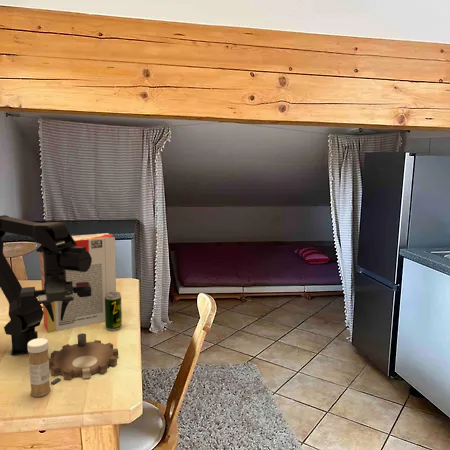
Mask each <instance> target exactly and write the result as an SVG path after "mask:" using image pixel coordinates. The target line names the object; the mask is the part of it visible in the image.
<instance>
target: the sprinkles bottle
mask: <svg viewBox="0 0 450 450" xmlns="http://www.w3.org/2000/svg"><path fill="white" fill-rule="evenodd" d="M27 346H28V353H27V354H28V361H29V362H28V364H29V367H28V370H29V382H30V395H31V396H32V397H36V398H38V397H39V398H40V397H44V396H46V395H48V394H49V393H50V392H51V387H50V385H51V381H50V375H51V374H50V369H49V359H50V358H49V351H48V350H49V340H48V339H46V338H45V337H44V338H42V337H40V338H39V337H38V338H37V339H33V340H31V341H29V342H28V344H27Z"/></svg>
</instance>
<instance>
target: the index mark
mask: <svg viewBox="0 0 450 450" xmlns="http://www.w3.org/2000/svg"><path fill="white" fill-rule="evenodd" d="M61 380H62V379H61V377H57V378H55V379H54V380H52V381H50V385H52V386H53V385H54V386H55V385H56V384H58V383H59V382H60V381H61Z"/></svg>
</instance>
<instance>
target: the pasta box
mask: <svg viewBox="0 0 450 450" xmlns="http://www.w3.org/2000/svg"><path fill="white" fill-rule="evenodd" d="M71 236H72V238H73V239H74V241H75V243H76V244H77V246H76V247H86V251H87V252H89V254H90V256H91V258H92V262H91V266H90V268H89V269H88V271H86V272H78V271H70V270H66V282H70V281H72V283H73V287H76V283H80V282H89V283H90V286H91V295H92V296H88V297H79V296H78V295H77V293H74V295H73V298H74V300H73V301H70V302H69V303H68V305H67V307H66V310H65V313H64V316H63V320H62V321H61V316H60V313H61V302H62V301H54V302H52V308H53V313H54V322H52V319H51V317H50V315H49V313H48V310H47V309H46V307H45V306H44V305H43V304H42V307H43V308H42V310H43V313H44V315H43V318H42V320H43V326H44V328H45V330H46V332H47V333H48V334H49V333H55V332H58V331H64V330H70V329H74V328H80V327H81V328H82V327H86V326H90V325H96V324H100V323H105V294H106V293H108V292H117V277H116V276H117V273H116V270H117V269H116V265H117V263H116V237H115V236H113V234H110V233H107V232H105V233H95V234H94V233H93V234H81V235H71ZM62 243H65V242H61V243H58V244H62ZM38 244H39V243H38ZM58 244H56V245H58ZM40 246H41V244H39V247H40ZM39 256H40V257H39V262H40V276H41V277H40V279H41V290H44V264H43V252H39Z"/></svg>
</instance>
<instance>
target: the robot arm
mask: <svg viewBox="0 0 450 450" xmlns="http://www.w3.org/2000/svg"><path fill="white" fill-rule="evenodd" d="M7 233H9V234H12V235H13V234H14V235H18V236H22V237H26V238H27V237H28V238H30V239H32V240H33V241H34V242H35V243H37V244H41V246H40V245H39V246H38V248H36V249H35V252H37V253H40V252H43V264H44V290H42V289H36V287H35V286H26V287H22V284H21V283H20V281H19V280H18V277H17V276H16V274H15V271H14V270H13V269H12V267H11V264H9V261H8V259H7V258H6V256H5V254H4V240H3V238H4V237H5V236H6V235H7ZM72 236H73V235H71V233H70V232H69V230H68V228H67V227H66V224H65V223H63V222H60V221H59V222H57V221H55V222H52V221H51V222H50V221H49V222H36V221H33V220H26V219H22V218H17V217H12V216H9V215H6V214H3V215H2V214H1V215H0V289H1V291H2V293H3V295H4V296H5V299H6V301H7V302H8V317H9V319H10V320H9V321H8V322H7V323H6V324H5V325H4V327H3V330H4V333H5V334H6V335H7V336H10V338H11V356H16V355H23V354H24V355H26V354H29V353H28V346H27V344H28V342H29V341H31V340H33V339H37V338H39V337H38V331H37V330H36V328H37V327H39V326H40V325H41V324H42V323H41V322H42V321H43V315H44V313H43V305H44V306H45V307H46V309H47V310H48V313H49V315H50V317H51V319H52V322H54V313H53V308H52V302H54V301H62V302H61V313H60V316H61V321H62V320H63V316H64V313H65V310H66V307H67V305H68V303H69V302H70V301H73V300H74V298H73V295H74V293H77V295H78V296H79V297H88V296H92V295H91V286H90V283H89V282H80V283H76V287H73V283H72V281H70V282H66V270H70V271H78V272H86V271H88V269H89V268H90V266H91V262H92V258H91V256H90V254H89V252H87V251H86V247H76V246H77V244H76V243H75V241H74V239H73V238H72ZM61 242H65V243H62V244H58V243H61ZM56 244H58V245H56Z"/></svg>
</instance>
